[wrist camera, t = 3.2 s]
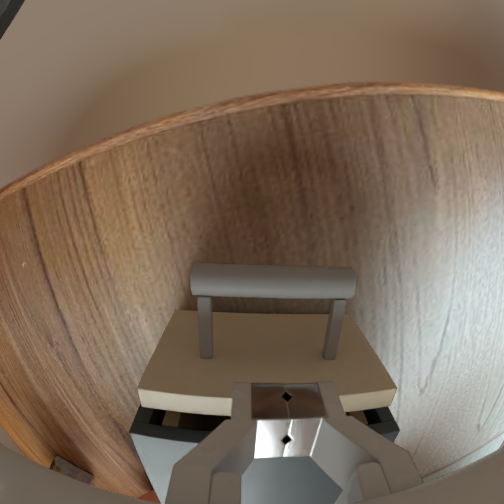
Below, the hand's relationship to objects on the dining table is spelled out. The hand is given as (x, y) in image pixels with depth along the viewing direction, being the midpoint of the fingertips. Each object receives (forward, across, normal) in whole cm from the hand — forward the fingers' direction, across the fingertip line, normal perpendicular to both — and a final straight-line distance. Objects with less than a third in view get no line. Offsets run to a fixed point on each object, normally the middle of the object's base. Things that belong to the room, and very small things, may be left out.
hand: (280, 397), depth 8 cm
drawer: (+10, 0, +6) cm, 12 cm away
